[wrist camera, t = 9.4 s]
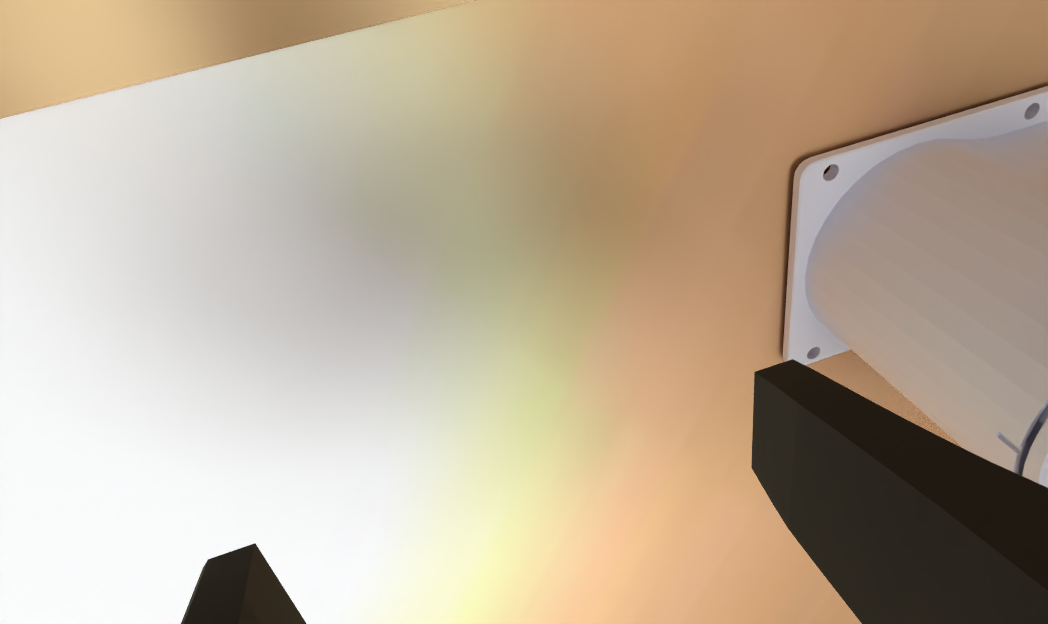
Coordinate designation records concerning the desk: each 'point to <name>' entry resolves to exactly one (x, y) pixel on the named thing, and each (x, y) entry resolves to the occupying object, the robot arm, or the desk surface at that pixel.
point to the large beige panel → (159, 39)
